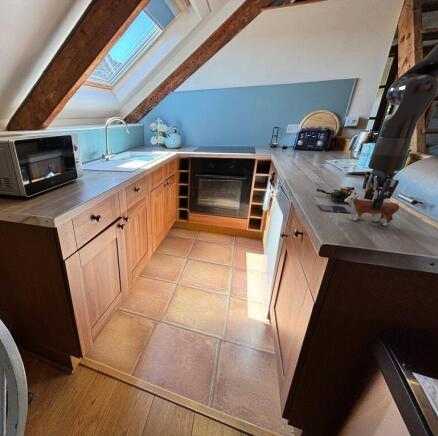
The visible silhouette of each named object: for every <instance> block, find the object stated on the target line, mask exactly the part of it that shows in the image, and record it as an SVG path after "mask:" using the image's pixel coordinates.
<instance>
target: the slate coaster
mask: <svg viewBox="0 0 438 436" xmlns="http://www.w3.org/2000/svg"><path fill="white" fill-rule="evenodd" d="M318 207H319V208H320V209H321V210H322V211H323V212H330V213H331V212H333V213H345V214H350V211H349V210H348V209H347V208H345V207H344V206H340V205H329V204H328V205H327V204H318Z"/></svg>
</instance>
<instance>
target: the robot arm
mask: <svg viewBox="0 0 438 436" xmlns="http://www.w3.org/2000/svg"><path fill="white" fill-rule="evenodd" d="M437 94H438V44H437V45H436V46H434V47H433V48H432V49H431V50H430V52H429V53H428V54H427V55H426V56H424V57H423V58H422V59H421V60H420V61H418V62H417V63H415V64H414V65H412V67H410V68H409V69H408V70H407V71H405V72H404V73H403V74H401V75H400V76H399V77H398V78H396V80H395V81H394V82H393V83H392V84H391V85H390V87H389V88H388V90H387V92H386V96H385V97H386V101H387V103H389V104H390V105H393V106H398V107H397V108H396V110H395V112H394V113H393V114H391V115H389V116H387V117H386V118H385V119H384V120H383V122H382V124H381V129H380V131H379V134H378V137H377V139H376V141H375V144H374V146H373V149H372V151H371V156H370V159H369V162H368V166H367V167H368V169H370V170H366V171H365V173H364V174H365V175H364V179H363V183H362V190H364V195H363V198H364V199H368V200H372V201H373V203H372V206H371V209H372V210H380V209H381V206H382V204H383V202H385V200H389V199H391V198H392V197H393V194H394V192H395V191H396V189H397V187H398V185H399V182H400V181H399V179H394V174H395V172H399V171H402V169H403V166H404V164H405V160H406V158H407V156H408V153H409V150H410V148H411V143H412V139H413V137H414V134H415V131H416V129H417V125H418V123H419V121H420V119H421V118H422V117H423V115H424V114H425V113H426V111H427V110H428V108H429V107H430V105H431V103H433V101H434V99H435V98H436V96H437Z"/></svg>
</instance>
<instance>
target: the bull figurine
mask: <svg viewBox="0 0 438 436" xmlns="http://www.w3.org/2000/svg"><path fill="white" fill-rule="evenodd" d="M344 202H345V203H347V204H348V205H350V206H351V210H353V211H354V213H356V216H355V217H354V218H352V219H351V220H352V221H353V222H356V221H358V220H362V219H363V216H362V215H363V214H369V215H372V217H376V216H377V215H380V216H379V217H377V218H376V219H374V220H373V222H376V223H377V222H381V221H382V220H383V219H384V220H385V222H384V223H383V224H382V226H384V227H387V226H389V225H390V223H391V222H392V220H393V219H394V218H393V215H394V214H395V213H397V212H398V211H399V209H400V206H399V204H398V203H395V202H387V201H383V204H382V206H381V209H380V210H372V209H371V206H372V203H373V200H368V199H364V197H363V196H359V195H357V194H356V195H354V194H351V195H350V196H349V197H348V198H347V199H345V201H344Z"/></svg>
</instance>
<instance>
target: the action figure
mask: <svg viewBox="0 0 438 436" xmlns="http://www.w3.org/2000/svg"><path fill="white" fill-rule="evenodd" d="M354 191H355V187H354V186H346V187H340V189H332V191H326V190H324V189H321V188H316V192H318V193H322V194H325V195H329V196H330V197H332V201H333V202H335V203H336V204H338V203H339V201H340V202H345V199H347V198H348V197H349V196H352V194H353V195H356V196H357V192H354Z"/></svg>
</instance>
